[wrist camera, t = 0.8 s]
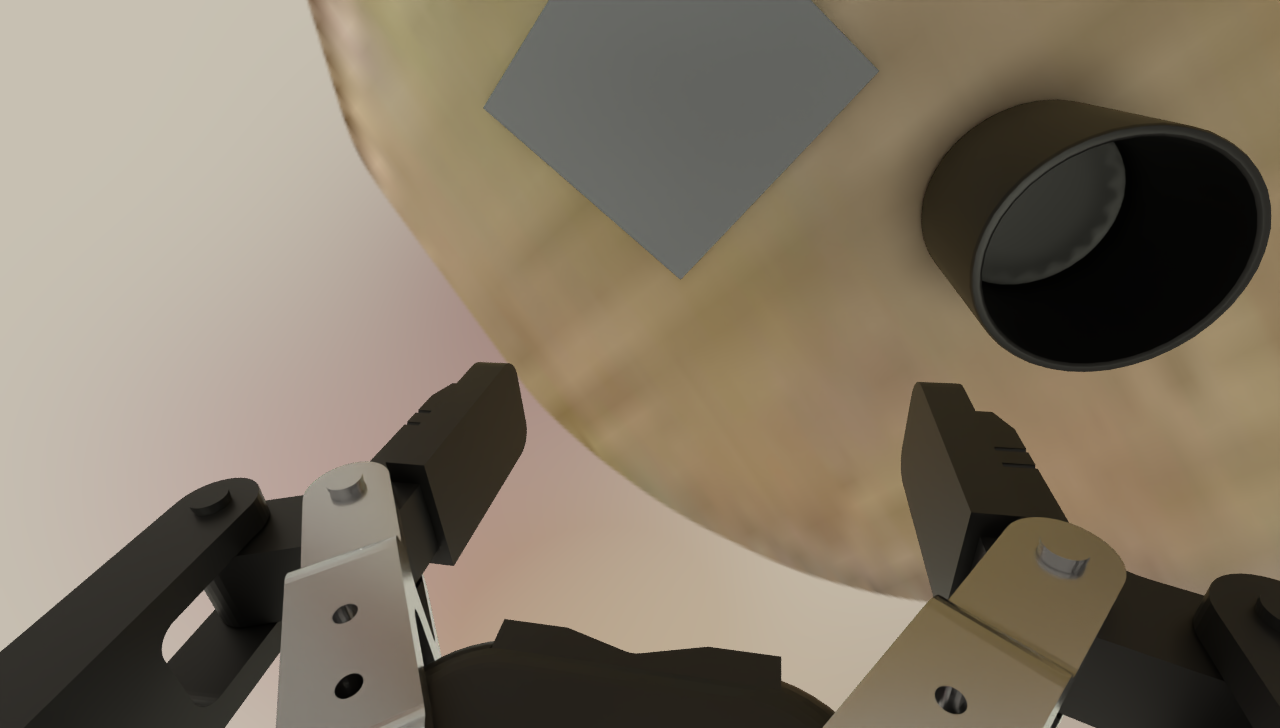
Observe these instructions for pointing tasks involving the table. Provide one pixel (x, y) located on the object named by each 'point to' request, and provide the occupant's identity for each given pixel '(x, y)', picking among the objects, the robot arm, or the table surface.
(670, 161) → the mat
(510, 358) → the table surface
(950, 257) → the mug
